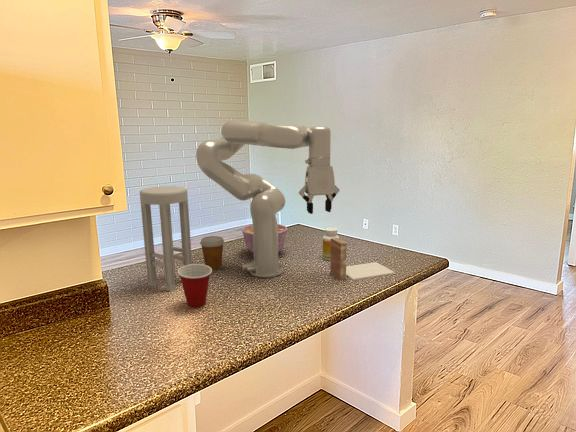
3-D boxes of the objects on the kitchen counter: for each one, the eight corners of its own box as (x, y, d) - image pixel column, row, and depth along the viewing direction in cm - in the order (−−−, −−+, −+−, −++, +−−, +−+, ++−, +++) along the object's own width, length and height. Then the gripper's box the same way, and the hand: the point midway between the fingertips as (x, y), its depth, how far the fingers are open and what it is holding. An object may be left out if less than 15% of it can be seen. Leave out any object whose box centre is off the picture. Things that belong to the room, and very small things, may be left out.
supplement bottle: (339, 260, 178) (340, 231, 176) (322, 260, 179) (323, 231, 176) (338, 255, 185) (338, 227, 183) (321, 255, 186) (322, 227, 183)
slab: (339, 279, 157) (340, 243, 154) (330, 272, 165) (330, 238, 161) (345, 279, 158) (346, 242, 155) (336, 272, 165) (336, 237, 162)
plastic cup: (193, 314, 131) (191, 277, 128) (173, 305, 137) (170, 270, 135) (220, 303, 139) (219, 268, 136) (200, 294, 145) (198, 261, 143)
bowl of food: (236, 250, 194) (235, 226, 191) (276, 244, 202) (276, 221, 199) (251, 263, 176) (251, 236, 174) (295, 256, 184) (295, 231, 182)
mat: (353, 280, 156) (353, 278, 156) (337, 269, 168) (337, 267, 168) (394, 273, 163) (394, 272, 163) (376, 263, 175) (376, 262, 174)
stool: (171, 273, 166) (164, 184, 158) (201, 280, 159) (195, 187, 151) (139, 286, 153) (130, 190, 146) (170, 294, 146) (162, 194, 138)
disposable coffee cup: (227, 263, 176) (226, 235, 174) (222, 271, 167) (220, 242, 164) (205, 263, 177) (203, 235, 175) (198, 271, 168) (196, 242, 165)
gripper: (300, 164, 142) (301, 216, 146) (346, 162, 148) (345, 212, 152) (292, 162, 149) (293, 212, 153) (336, 160, 155) (335, 208, 159)
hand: (319, 211), depth 153 cm, fingers open, 6 cm apart
